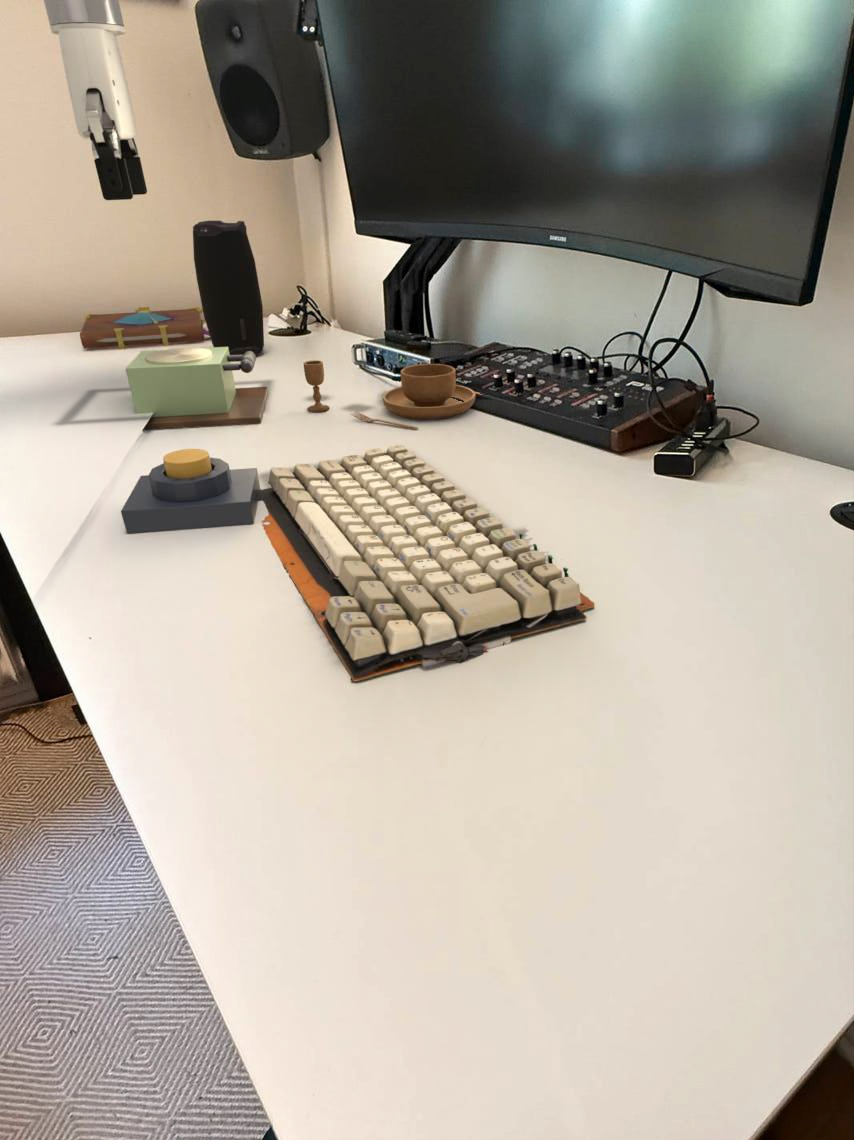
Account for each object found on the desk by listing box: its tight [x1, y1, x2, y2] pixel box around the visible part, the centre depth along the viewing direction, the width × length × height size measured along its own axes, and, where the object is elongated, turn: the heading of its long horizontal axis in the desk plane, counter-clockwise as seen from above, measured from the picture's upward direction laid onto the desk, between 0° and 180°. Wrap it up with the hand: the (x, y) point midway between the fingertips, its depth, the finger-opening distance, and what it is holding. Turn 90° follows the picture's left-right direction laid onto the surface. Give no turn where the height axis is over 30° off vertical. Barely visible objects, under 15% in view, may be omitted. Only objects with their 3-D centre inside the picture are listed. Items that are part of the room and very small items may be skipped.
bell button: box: [162, 448, 212, 479], centre depth 73 cm, size 4×4×2 cm
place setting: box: [303, 359, 482, 430], centre depth 104 cm, size 18×20×6 cm
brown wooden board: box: [142, 386, 269, 431], centre depth 104 cm, size 23×15×1 cm, turn 99°
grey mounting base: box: [120, 457, 261, 535], centre depth 74 cm, size 11×9×4 cm
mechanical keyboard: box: [258, 444, 595, 682], centre depth 67 cm, size 38×19×3 cm, turn 26°
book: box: [79, 306, 210, 350], centre depth 144 cm, size 16×25×5 cm, turn 107°
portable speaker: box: [192, 220, 265, 358], centre depth 127 cm, size 9×9×20 cm
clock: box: [125, 346, 257, 418], centre depth 102 cm, size 6×10×15 cm
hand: (126, 196), depth 96 cm, fingers open, 9 cm apart
